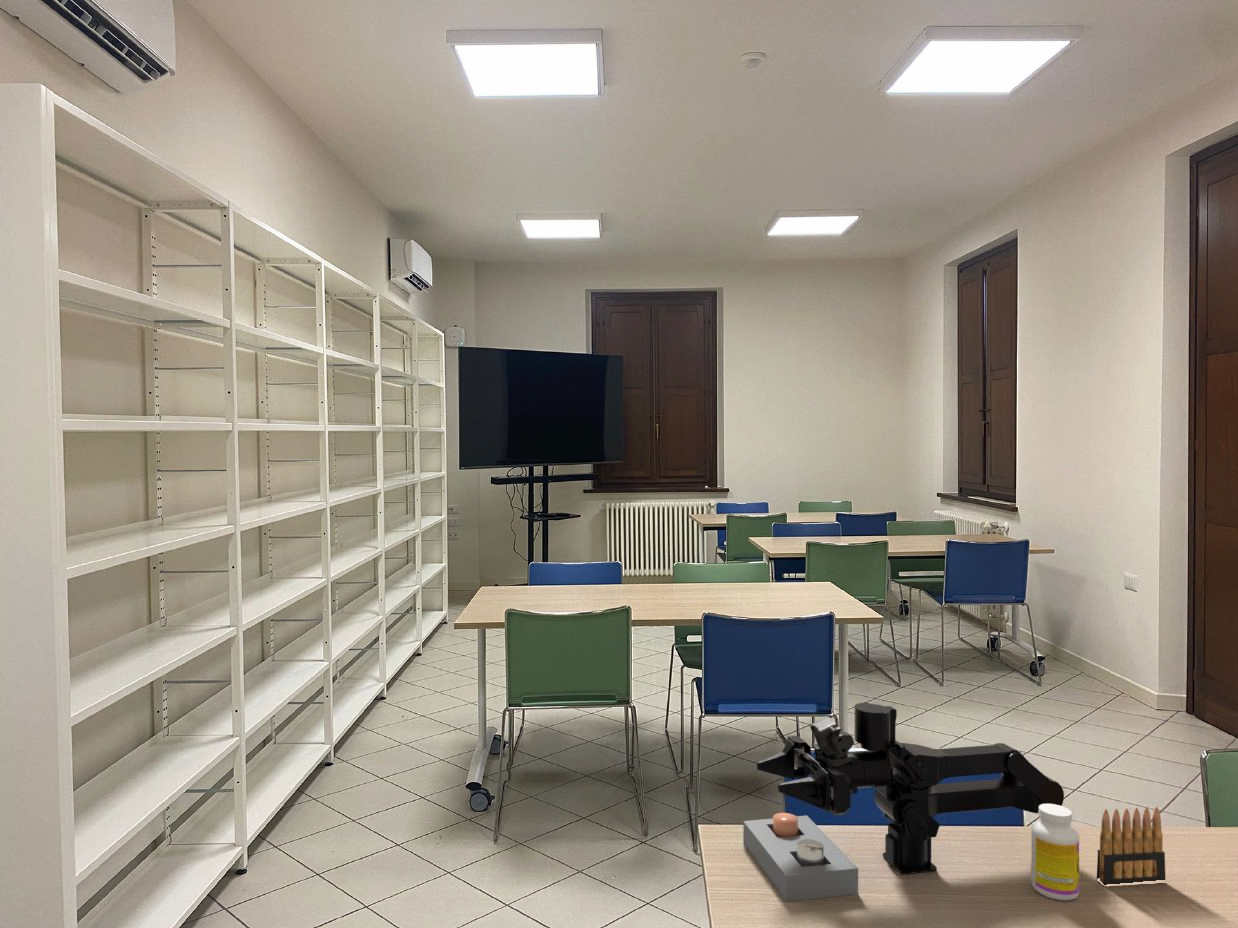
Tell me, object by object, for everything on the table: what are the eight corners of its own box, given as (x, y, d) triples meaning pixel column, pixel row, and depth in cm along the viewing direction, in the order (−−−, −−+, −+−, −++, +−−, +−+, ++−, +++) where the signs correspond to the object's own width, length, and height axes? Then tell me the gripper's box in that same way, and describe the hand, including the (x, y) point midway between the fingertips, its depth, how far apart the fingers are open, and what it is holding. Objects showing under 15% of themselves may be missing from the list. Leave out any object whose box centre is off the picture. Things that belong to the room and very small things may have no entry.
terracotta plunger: (791, 828, 141) (792, 811, 141) (801, 839, 137) (801, 822, 137) (769, 830, 140) (769, 813, 140) (778, 841, 136) (778, 824, 136)
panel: (806, 837, 144) (806, 815, 144) (858, 893, 125) (858, 868, 125) (743, 843, 142) (743, 820, 142) (786, 901, 123) (786, 875, 123)
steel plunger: (816, 856, 131) (816, 837, 131) (828, 869, 127) (828, 850, 127) (792, 858, 130) (792, 840, 130) (803, 871, 126) (803, 852, 126)
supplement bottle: (1085, 904, 123) (1086, 820, 122) (1038, 899, 124) (1039, 816, 124) (1070, 882, 129) (1070, 802, 129) (1025, 877, 130) (1026, 798, 130)
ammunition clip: (1157, 877, 131) (1157, 804, 131) (1166, 883, 129) (1166, 809, 129) (1096, 880, 130) (1096, 806, 129) (1104, 887, 128) (1104, 811, 128)
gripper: (830, 704, 142) (747, 709, 139) (885, 740, 124) (790, 747, 121) (830, 767, 142) (746, 773, 139) (885, 812, 124) (790, 820, 121)
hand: (767, 776), depth 130 cm, fingers open, 9 cm apart
